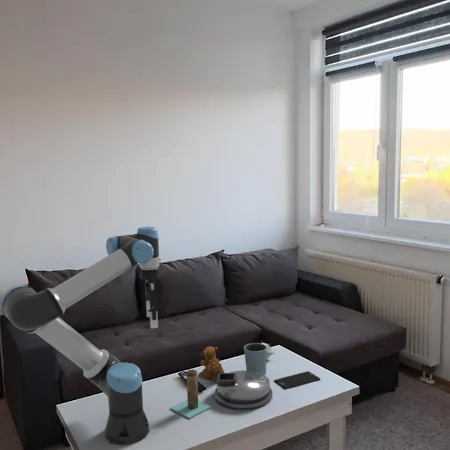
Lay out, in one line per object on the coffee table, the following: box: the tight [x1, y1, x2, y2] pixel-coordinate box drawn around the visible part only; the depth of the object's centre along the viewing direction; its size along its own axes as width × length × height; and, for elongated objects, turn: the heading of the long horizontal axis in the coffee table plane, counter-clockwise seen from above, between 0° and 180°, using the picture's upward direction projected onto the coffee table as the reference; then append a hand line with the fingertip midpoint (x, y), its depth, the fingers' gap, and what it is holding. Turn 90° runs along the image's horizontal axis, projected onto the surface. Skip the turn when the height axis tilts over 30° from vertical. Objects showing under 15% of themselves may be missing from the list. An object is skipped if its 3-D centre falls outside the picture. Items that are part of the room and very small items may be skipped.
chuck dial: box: [216, 370, 271, 404], centre depth 199 cm, size 21×21×6 cm
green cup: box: [243, 342, 268, 376], centre depth 219 cm, size 10×10×12 cm
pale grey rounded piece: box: [261, 340, 275, 360], centre depth 234 cm, size 9×8×10 cm
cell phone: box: [273, 370, 321, 390], centre depth 212 cm, size 9×18×1 cm, turn 117°
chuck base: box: [214, 387, 273, 411], centre depth 200 cm, size 23×23×2 cm
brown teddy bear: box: [198, 346, 225, 382], centre depth 216 cm, size 10×14×13 cm
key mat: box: [169, 398, 212, 420], centre depth 190 cm, size 11×11×1 cm
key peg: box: [186, 369, 199, 409], centre depth 190 cm, size 4×4×14 cm
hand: (152, 322), depth 191 cm, fingers open, 13 cm apart
